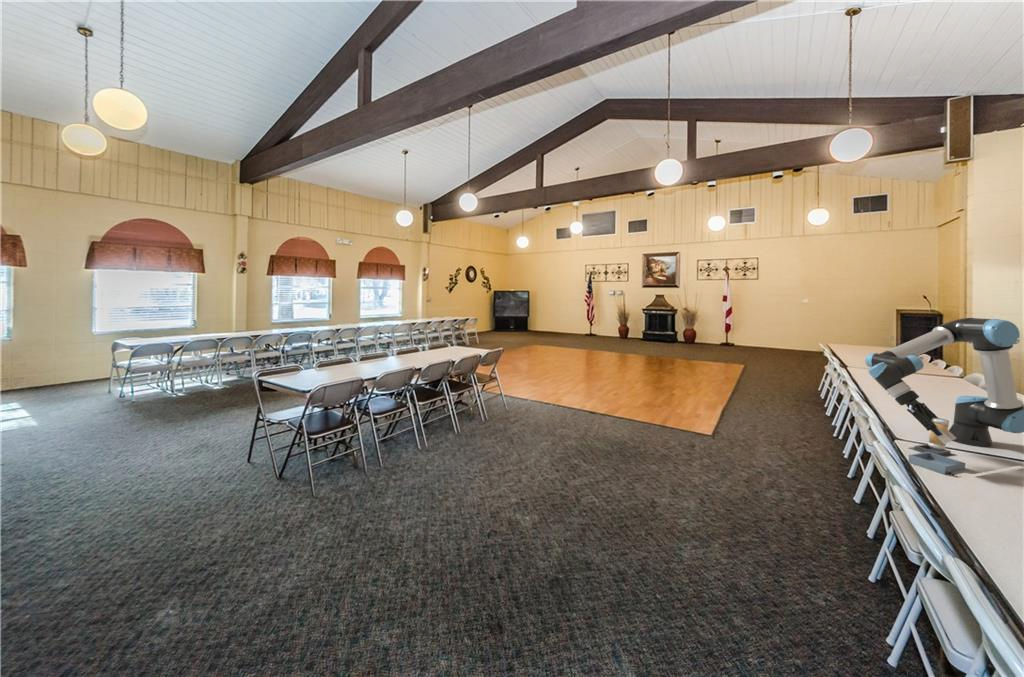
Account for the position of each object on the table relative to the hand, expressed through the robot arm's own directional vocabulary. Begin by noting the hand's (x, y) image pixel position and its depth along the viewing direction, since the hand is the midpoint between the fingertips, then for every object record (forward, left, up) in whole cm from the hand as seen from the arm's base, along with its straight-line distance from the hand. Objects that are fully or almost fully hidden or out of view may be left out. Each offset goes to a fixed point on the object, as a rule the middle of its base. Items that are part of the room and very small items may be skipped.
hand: (950, 441), depth 168 cm
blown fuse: (+1, -4, -4) cm, 5 cm away
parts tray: (0, -3, -13) cm, 13 cm away
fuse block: (-16, -13, -13) cm, 24 cm away
